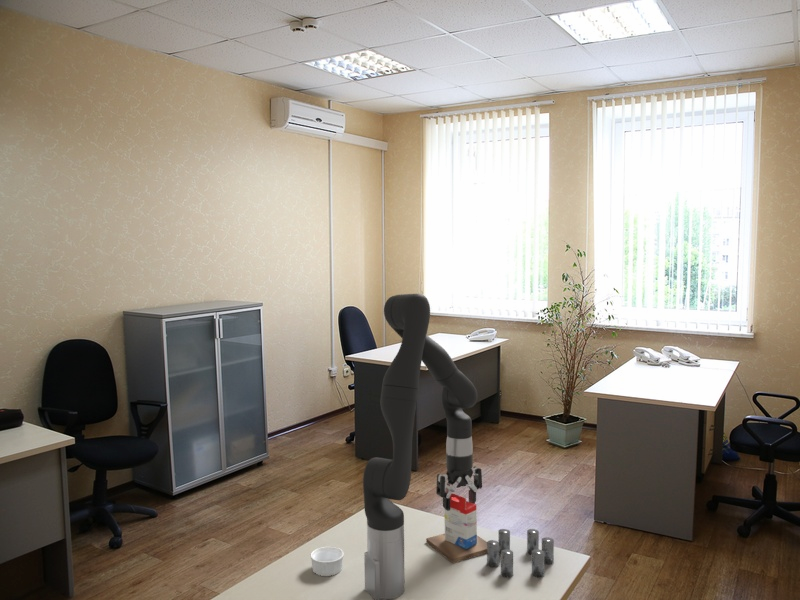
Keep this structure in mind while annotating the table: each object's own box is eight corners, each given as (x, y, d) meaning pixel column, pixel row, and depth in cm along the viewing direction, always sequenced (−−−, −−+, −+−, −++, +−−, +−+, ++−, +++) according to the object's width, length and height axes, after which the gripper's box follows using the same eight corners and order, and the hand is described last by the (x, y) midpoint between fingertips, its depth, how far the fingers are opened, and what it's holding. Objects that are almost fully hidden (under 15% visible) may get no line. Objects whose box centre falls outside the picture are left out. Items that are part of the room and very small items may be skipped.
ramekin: (326, 558, 168) (326, 543, 168) (350, 567, 163) (350, 551, 163) (303, 571, 161) (303, 555, 161) (328, 581, 156) (328, 565, 156)
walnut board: (452, 563, 165) (452, 558, 165) (426, 542, 177) (426, 538, 177) (494, 550, 172) (494, 546, 171) (465, 531, 184) (465, 527, 184)
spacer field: (516, 586, 153) (516, 563, 153) (475, 557, 168) (475, 536, 168) (566, 568, 161) (566, 547, 161) (524, 542, 176) (524, 522, 176)
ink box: (477, 544, 173) (477, 494, 172) (466, 550, 170) (466, 499, 169) (455, 534, 179) (454, 486, 178) (443, 540, 176) (443, 490, 175)
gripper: (472, 444, 179) (472, 497, 180) (431, 451, 172) (431, 507, 173) (487, 450, 173) (487, 506, 174) (445, 459, 166) (445, 516, 167)
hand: (459, 506), depth 174 cm, fingers open, 8 cm apart
